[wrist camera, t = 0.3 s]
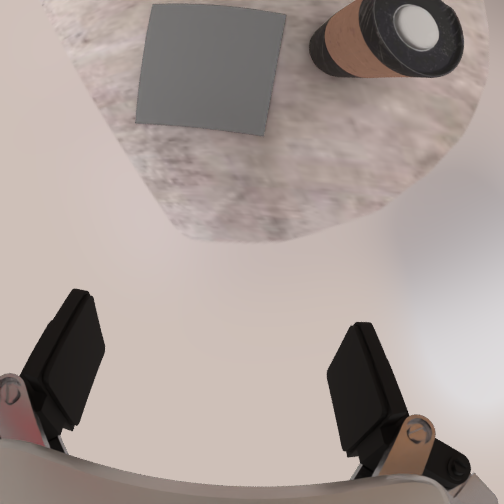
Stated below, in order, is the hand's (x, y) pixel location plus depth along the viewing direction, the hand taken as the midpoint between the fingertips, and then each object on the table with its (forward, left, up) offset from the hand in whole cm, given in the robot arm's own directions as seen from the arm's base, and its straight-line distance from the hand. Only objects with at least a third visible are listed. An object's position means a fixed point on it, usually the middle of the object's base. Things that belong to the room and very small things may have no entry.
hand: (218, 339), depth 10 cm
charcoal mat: (-11, -5, -30) cm, 33 cm away
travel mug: (-16, +10, -31) cm, 36 cm away
